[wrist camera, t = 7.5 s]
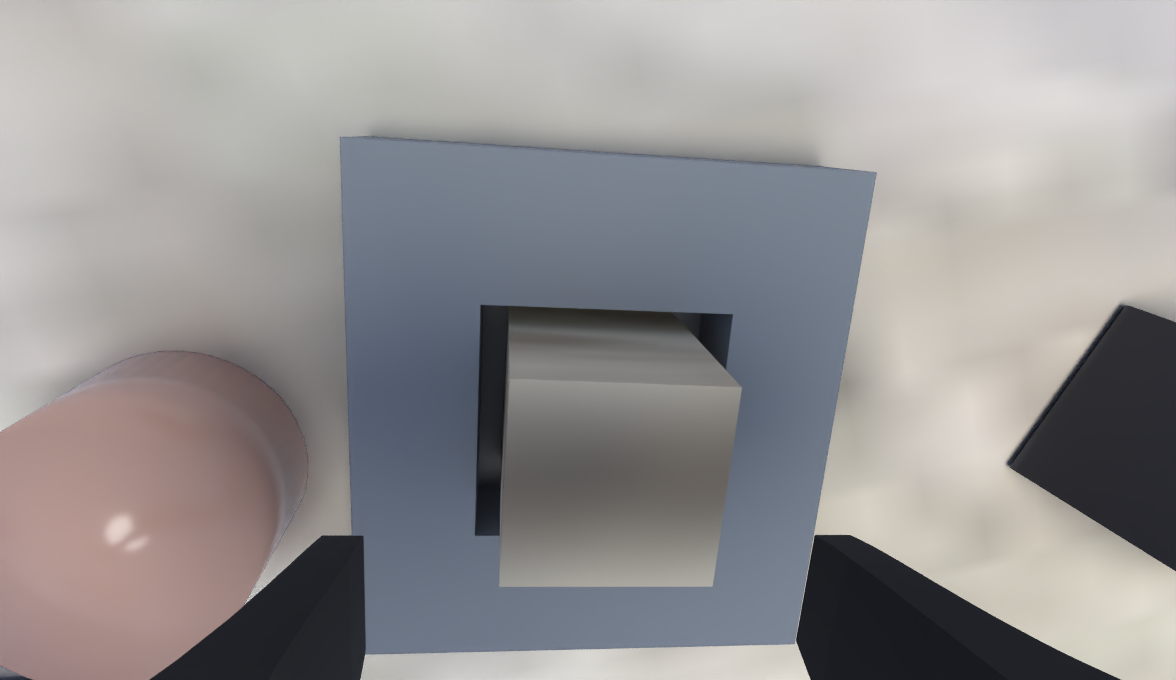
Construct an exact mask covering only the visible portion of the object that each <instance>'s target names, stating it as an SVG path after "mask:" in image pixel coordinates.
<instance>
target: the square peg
mask: <svg viewBox="0 0 1176 680" xmlns="http://www.w3.org/2000/svg"><path fill="white" fill-rule="evenodd" d="M741 391H742V387H741V386H740V385H739V384H738V383H737V381H736V380H735V379H734V378H733V377H732V376H731V375H730V374H729V373H728V372H727V371H726V370H725V369H724V367H723V366H722V365H721V364H720V363H719V362H718V361H717V360H716V359H715V358H714V357H713V356H712V355H711V354H710V352H709V351H708V350H707V349H706V348H705V347H704V346H703V345H702V344H701V343H700V342H699V341H698V340H697V338H696V337H695V336H694V335H693V334H692V333H691V332H690V331H689V330H688V329H687V328H686V327H685V326H684V324H683V323H682V322H681V321H680V320H679V319H678V318H677V317H676V316H675V315H674V314H673V313H672V312H655V311H633V310H606V309H580V308H553V307H527V306H508V322H507V342H506V363H505V383H504V403H503V423H502V443H501V482H500V562H499V587H713V581H714V574H715V567H716V560H717V553H718V547H719V540H720V533H721V526H722V520H723V513H724V506H725V499H726V493H727V486H728V479H729V472H730V466H731V459H732V452H733V445H734V438H735V432H736V425H737V418H738V411H739V405H740V398H741Z"/></svg>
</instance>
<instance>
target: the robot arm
mask: <svg viewBox="0 0 1176 680" xmlns="http://www.w3.org/2000/svg"><path fill="white" fill-rule="evenodd" d="M796 642H797V644H798V647H799V650H800V652H801V655H802V658H803V660H804V663H805V666H806V669H807V671H808V674H809V676H810V679H811V680H1120V679H1118V678H1116V677H1114V676H1112V675H1109V674H1107V673H1105V672H1103V671H1101V670H1099V669H1096V668H1094V667H1092V666H1090V665H1088V664H1086V663H1083V662H1081V661H1079V660H1077V659H1075V658H1073V657H1071V656H1069V655H1067V654H1065V653H1062V652H1060V651H1058V650H1056V649H1054V648H1052V647H1050V646H1048V645H1046V644H1045V643H1043V642H1041V641H1039V640H1037V639H1035V638H1033V637H1031V636H1029V635H1028V634H1026V633H1024V632H1022V631H1020V630H1018V629H1016V628H1014V627H1013V626H1011V625H1009V624H1007V623H1005V622H1003V621H1001V620H1000V619H998V618H996V617H994V616H992V615H991V614H989V613H987V612H985V611H983V610H982V609H980V608H978V607H976V606H975V605H973V604H971V603H969V602H968V601H966V600H964V599H962V598H961V597H959V596H957V595H956V594H954V593H952V592H950V591H949V590H947V589H945V588H944V587H942V586H940V585H938V584H937V583H935V582H933V581H932V580H930V579H928V578H927V577H925V576H923V575H922V574H920V573H918V572H916V571H915V570H913V569H911V568H910V567H908V566H906V565H905V564H903V563H901V562H900V561H898V560H896V559H894V558H893V557H891V556H889V555H887V554H886V553H884V552H882V551H880V550H879V549H877V548H875V547H873V546H871V545H869V544H867V543H865V542H863V541H862V540H859V539H857V538H855V537H853V536H851V535H815V537H814V543H813V548H812V554H811V560H810V565H809V571H808V576H807V582H806V588H805V593H804V599H803V604H802V610H801V616H800V621H799V627H798V632H797V638H796ZM365 652H366V631H365V581H364V536H321V537H320V538H319V539H318V540H317V541H315V542H314V543H313V544H312V545H311V546H310V547H309V548H307V549H306V550H305V551H304V552H303V553H302V554H301V555H300V556H299V557H297V558H296V559H295V560H294V561H293V562H292V563H291V564H290V565H289V566H288V567H287V568H286V569H284V570H283V571H282V572H281V573H280V574H279V575H278V576H277V577H276V578H275V579H273V580H272V581H271V582H270V583H269V584H268V585H267V586H266V587H265V588H264V589H262V590H261V591H260V592H259V593H258V594H257V595H256V596H254V597H253V598H252V599H251V600H250V601H249V602H247V603H246V604H245V605H244V606H243V607H242V608H241V609H239V610H238V611H237V612H236V613H235V614H234V615H233V616H231V617H230V618H229V619H228V620H227V621H225V622H224V623H223V624H222V625H220V626H219V627H218V628H216V629H215V630H214V631H213V632H211V633H210V634H209V635H208V636H206V637H205V638H204V639H203V640H201V641H200V642H199V643H198V644H196V645H195V646H194V647H193V648H191V649H190V650H189V651H187V652H186V653H185V654H184V655H182V656H181V657H180V658H179V659H177V660H176V661H174V662H173V663H172V664H170V665H169V666H168V667H166V668H165V669H164V670H162V671H161V672H159V673H158V674H156V675H155V676H154V677H152V678H151V679H149V680H360V678H361V673H362V667H363V662H364V657H365Z"/></svg>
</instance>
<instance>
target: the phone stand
mask: <svg viewBox="0 0 1176 680" xmlns="http://www.w3.org/2000/svg"><path fill="white" fill-rule="evenodd" d="M1010 468H1012V469H1013V470H1015V471H1016V472H1018V473H1019V474H1021V475H1023V476H1024V477H1026V478H1027V479H1029V480H1031V481H1032V482H1034V483H1035V484H1037V485H1039V486H1040V487H1042V488H1043V489H1045V490H1047V491H1048V492H1050V493H1051V494H1053V495H1055V496H1056V497H1058V498H1059V499H1061V500H1063V501H1064V502H1066V503H1067V504H1069V505H1071V506H1072V507H1074V508H1075V509H1077V510H1079V511H1080V512H1082V513H1083V514H1085V515H1087V516H1088V517H1090V518H1091V519H1093V520H1095V521H1096V522H1098V523H1099V524H1101V525H1103V526H1104V527H1106V528H1107V529H1109V530H1111V531H1112V532H1114V533H1115V534H1117V535H1119V536H1120V537H1122V538H1123V539H1125V540H1127V541H1128V542H1130V543H1131V544H1133V545H1135V546H1136V547H1138V548H1139V549H1141V550H1143V551H1144V552H1146V553H1147V554H1149V555H1151V556H1152V557H1154V558H1155V559H1157V560H1159V561H1160V562H1162V563H1163V564H1165V565H1167V566H1168V567H1170V568H1172V569H1173V570H1175V571H1176V322H1173V321H1170V320H1168V319H1165V318H1162V317H1159V316H1156V315H1154V314H1151V313H1148V312H1145V311H1142V310H1140V309H1137V308H1134V307H1131V306H1127V305H1125V306H1124V308H1123V309H1122V310H1121V312H1120V313H1119V315H1118V316H1117V317H1116V319H1115V320H1114V322H1113V323H1112V324H1111V326H1110V327H1109V329H1108V330H1107V331H1106V333H1105V334H1104V335H1103V337H1102V338H1101V340H1100V341H1099V342H1098V344H1097V345H1096V347H1095V348H1094V349H1093V351H1092V352H1091V354H1090V355H1089V356H1088V358H1087V359H1086V361H1085V362H1084V363H1083V365H1082V366H1081V368H1080V369H1079V370H1078V372H1077V373H1076V375H1075V376H1074V377H1073V379H1072V380H1071V382H1070V383H1069V384H1068V386H1067V387H1066V388H1065V390H1064V391H1063V393H1062V394H1061V395H1060V397H1059V398H1058V400H1057V401H1056V402H1055V404H1054V405H1053V407H1052V408H1051V409H1050V411H1049V412H1048V414H1047V415H1046V416H1045V418H1044V419H1043V421H1042V422H1041V423H1040V425H1039V426H1038V428H1037V429H1036V430H1035V432H1034V433H1033V435H1032V436H1031V437H1030V439H1029V440H1028V442H1027V443H1026V444H1025V446H1024V447H1023V448H1022V450H1021V451H1020V453H1019V454H1018V455H1017V457H1016V458H1015V460H1014V461H1013V462H1012V464H1011V465H1010Z"/></svg>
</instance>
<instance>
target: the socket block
mask: <svg viewBox="0 0 1176 680" xmlns="http://www.w3.org/2000/svg"><path fill="white" fill-rule="evenodd" d="M340 156H341V189H342V222H343V256H344V289H345V322H346V355H347V389H348V422H349V455H350V489H351V522H352V536H364V581H365V631H366V652H365V654H406V653H447V652H489V651H530V650H572V649H613V648H655V647H696V646H738V645H780V644H795V638H796V633H797V627H798V621H799V615H800V610H801V604H802V598H803V592H804V587H805V581H806V575H807V570H808V564H809V558H810V552H811V547H812V541H813V535H814V529H815V524H816V518H817V512H818V506H819V501H820V495H821V489H822V484H823V478H824V472H825V466H826V461H827V455H828V449H829V443H830V438H831V432H832V426H833V420H834V415H835V409H836V403H837V398H838V392H839V386H840V380H841V375H842V369H843V363H844V357H845V352H846V346H847V340H848V334H849V329H850V323H851V317H852V312H853V306H854V300H855V294H856V289H857V283H858V277H859V271H860V266H861V260H862V254H863V248H864V243H865V237H866V231H867V225H868V220H869V214H870V208H871V203H872V197H873V191H874V185H875V180H876V174H877V172H867V171H858V170H849V169H839V168H830V167H820V166H805V165H790V164H775V163H760V162H745V161H730V160H715V159H700V158H685V157H669V156H654V155H639V154H624V153H609V152H594V151H579V150H564V149H549V148H534V147H519V146H503V145H488V144H473V143H458V142H443V141H428V140H413V139H398V138H383V137H368V136H364V137H340ZM508 306H527V307H553V308H580V309H606V310H633V311H655V312H672V313H673V314H674V315H675V316H676V317H677V318H678V319H679V320H680V321H681V322H682V323H683V324H684V326H685V327H686V328H687V329H688V330H689V331H690V332H691V333H692V334H693V335H694V336H695V337H696V338H697V340H698V341H699V342H700V343H701V344H702V345H703V346H704V347H705V348H706V349H707V350H708V351H709V352H710V354H711V355H712V356H713V357H714V358H715V359H716V360H717V361H718V362H719V363H720V364H721V365H722V366H723V367H724V369H725V370H726V371H727V372H728V373H729V374H730V375H731V376H732V377H733V378H734V379H735V380H736V381H737V383H738V384H739V385H740V386H741V387H742V391H741V398H740V405H739V411H738V418H737V425H736V432H735V438H734V445H733V452H732V459H731V466H730V472H729V479H728V486H727V493H726V499H725V506H724V513H723V520H722V526H721V533H720V540H719V547H718V553H717V560H716V567H715V574H714V581H713V587H499V562H500V482H501V443H502V423H503V403H504V383H505V363H506V342H507V322H508Z"/></svg>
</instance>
